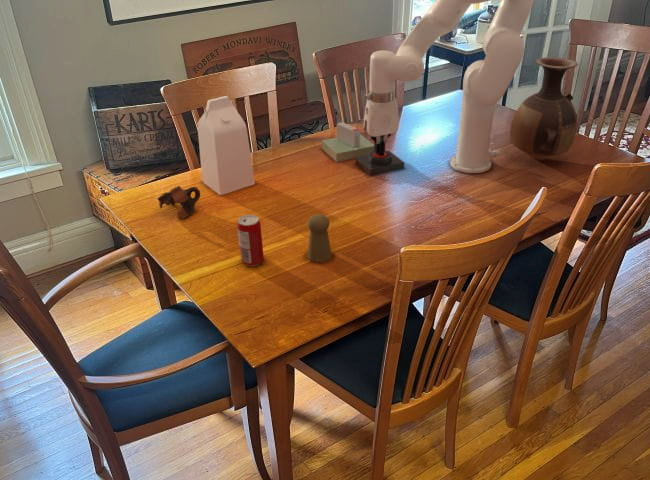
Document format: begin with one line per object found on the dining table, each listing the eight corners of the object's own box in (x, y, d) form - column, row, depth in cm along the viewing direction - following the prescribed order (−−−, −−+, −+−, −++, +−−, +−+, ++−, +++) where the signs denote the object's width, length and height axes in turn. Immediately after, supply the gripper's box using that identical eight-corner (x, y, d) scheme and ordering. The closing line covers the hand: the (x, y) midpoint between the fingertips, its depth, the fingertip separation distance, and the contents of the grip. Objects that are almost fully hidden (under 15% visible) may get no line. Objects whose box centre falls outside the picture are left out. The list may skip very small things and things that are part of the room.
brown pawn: (306, 250, 157) (305, 212, 150) (330, 248, 157) (329, 210, 151) (308, 263, 152) (306, 224, 146) (332, 261, 153) (332, 222, 146)
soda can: (266, 255, 155) (262, 213, 148) (261, 267, 151) (256, 225, 144) (244, 254, 156) (239, 212, 149) (239, 266, 152) (233, 223, 145)
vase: (558, 178, 186) (581, 77, 168) (495, 165, 194) (511, 67, 176) (577, 151, 201) (600, 56, 183) (518, 140, 210) (535, 48, 192)
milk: (236, 171, 196) (226, 89, 180) (255, 184, 188) (246, 99, 172) (202, 181, 190) (189, 98, 175) (220, 195, 183) (208, 109, 167)
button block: (388, 157, 201) (389, 145, 199) (404, 168, 194) (404, 156, 192) (355, 163, 198) (356, 152, 195) (370, 176, 190) (370, 164, 188)
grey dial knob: (336, 139, 206) (336, 123, 203) (342, 137, 207) (342, 121, 204) (354, 147, 201) (354, 130, 197) (359, 145, 202) (360, 129, 198)
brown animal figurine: (174, 225, 170) (157, 199, 167) (167, 225, 179) (152, 200, 176) (210, 203, 173) (194, 177, 171) (202, 203, 182) (187, 179, 179)
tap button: (382, 155, 197) (383, 150, 196) (389, 160, 193) (389, 155, 192) (370, 157, 195) (370, 152, 194) (377, 163, 192) (377, 157, 191)
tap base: (337, 162, 199) (337, 153, 197) (321, 148, 209) (320, 139, 207) (375, 154, 203) (376, 145, 201) (358, 140, 213) (358, 132, 211)
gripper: (364, 103, 177) (363, 163, 188) (410, 95, 182) (406, 154, 193) (353, 95, 183) (352, 153, 194) (397, 88, 187) (394, 145, 198)
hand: (379, 153), depth 193 cm, fingers closed
